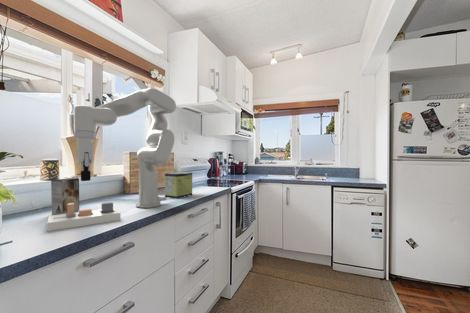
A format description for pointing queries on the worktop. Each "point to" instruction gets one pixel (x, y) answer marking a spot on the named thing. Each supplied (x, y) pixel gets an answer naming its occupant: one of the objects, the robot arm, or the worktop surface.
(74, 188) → the coffee box
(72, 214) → the slider lever
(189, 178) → the protein box
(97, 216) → the console
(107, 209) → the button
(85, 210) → the press button
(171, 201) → the worktop surface
